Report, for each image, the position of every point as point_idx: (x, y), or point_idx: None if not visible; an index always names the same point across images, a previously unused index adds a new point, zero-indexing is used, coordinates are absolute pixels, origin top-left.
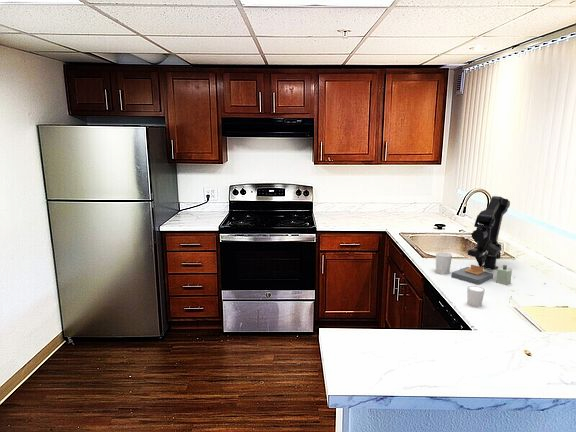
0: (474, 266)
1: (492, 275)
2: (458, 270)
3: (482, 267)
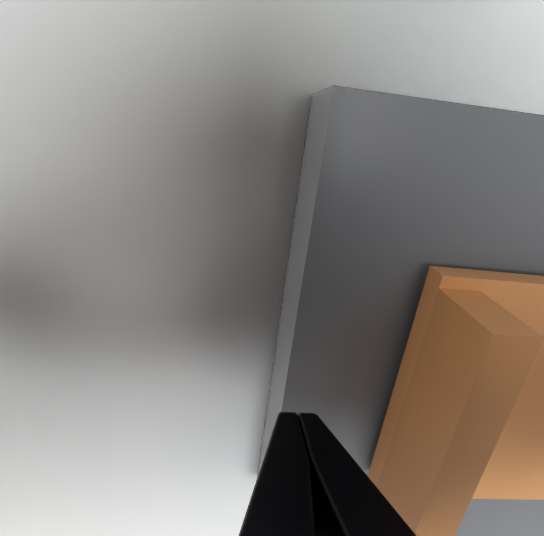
0: (460, 493)
1: (372, 93)
2: (524, 533)
3: (489, 364)
